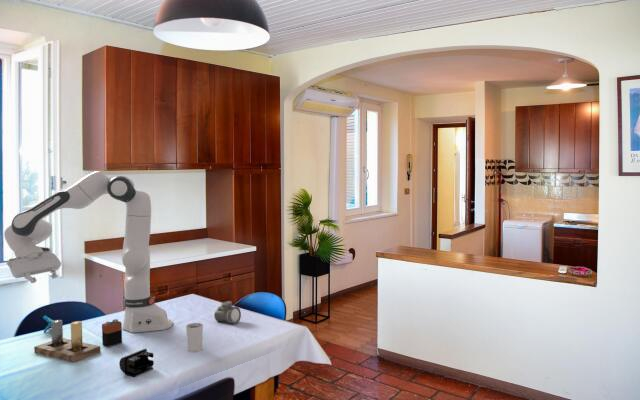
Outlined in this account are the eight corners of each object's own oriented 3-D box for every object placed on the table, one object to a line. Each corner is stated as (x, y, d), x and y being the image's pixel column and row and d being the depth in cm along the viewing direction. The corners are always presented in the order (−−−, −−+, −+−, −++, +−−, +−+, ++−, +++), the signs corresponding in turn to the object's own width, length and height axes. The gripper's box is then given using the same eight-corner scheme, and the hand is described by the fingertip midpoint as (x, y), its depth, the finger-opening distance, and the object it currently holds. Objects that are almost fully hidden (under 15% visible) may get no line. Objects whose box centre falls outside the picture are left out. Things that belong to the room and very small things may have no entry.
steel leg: (64, 348, 205) (63, 319, 205) (61, 351, 201) (59, 322, 201) (54, 348, 205) (53, 320, 204) (50, 352, 201) (49, 323, 200)
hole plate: (34, 352, 200) (34, 346, 200) (61, 343, 211) (61, 337, 211) (74, 362, 190) (73, 356, 190) (100, 352, 200) (100, 346, 200)
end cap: (141, 364, 187) (141, 347, 187) (154, 368, 184) (154, 350, 183) (119, 374, 179) (118, 355, 178) (132, 378, 175) (132, 359, 175)
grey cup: (188, 353, 198) (188, 328, 198) (185, 348, 204) (184, 324, 204) (205, 350, 202) (204, 326, 201) (201, 345, 207) (200, 321, 207)
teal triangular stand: (62, 329, 225) (44, 315, 223) (52, 340, 223) (34, 326, 220) (63, 325, 235) (45, 312, 232) (53, 336, 233) (36, 323, 230)
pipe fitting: (243, 320, 240) (239, 300, 240) (232, 326, 233) (228, 305, 233) (224, 319, 246) (220, 299, 246) (213, 325, 239) (209, 305, 239)
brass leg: (84, 352, 200) (83, 321, 199) (80, 356, 196) (79, 324, 195) (74, 353, 199) (72, 321, 199) (70, 356, 196) (69, 324, 195)
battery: (122, 342, 211) (121, 319, 211) (107, 347, 206) (106, 323, 205) (117, 340, 214) (116, 318, 213) (102, 345, 209) (101, 321, 208)
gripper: (7, 254, 205) (23, 280, 201) (53, 247, 223) (69, 270, 219) (2, 264, 207) (17, 289, 203) (47, 256, 225) (63, 279, 221)
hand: (44, 279), depth 211 cm, fingers open, 8 cm apart
